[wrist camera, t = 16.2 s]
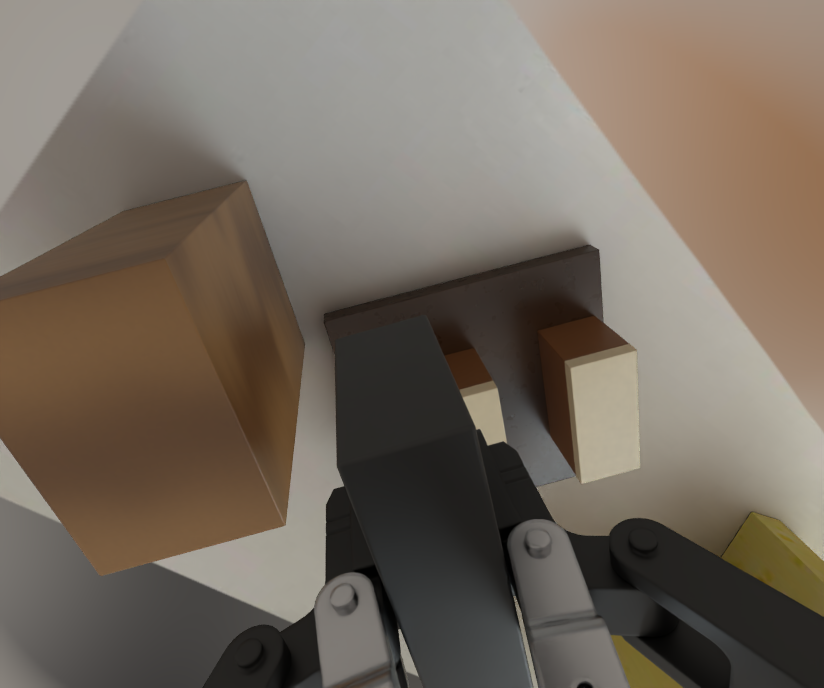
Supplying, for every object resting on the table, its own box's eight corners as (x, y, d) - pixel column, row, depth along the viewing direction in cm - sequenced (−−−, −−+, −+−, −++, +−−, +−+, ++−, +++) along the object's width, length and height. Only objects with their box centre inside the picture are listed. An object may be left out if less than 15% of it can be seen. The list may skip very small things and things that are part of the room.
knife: (333, 338, 13) (335, 465, 8) (425, 312, 13) (475, 425, 9) (480, 765, 23) (517, 930, 18) (533, 749, 23) (583, 910, 18)
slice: (536, 330, 38) (570, 367, 33) (594, 315, 39) (637, 349, 33) (550, 436, 43) (581, 484, 37) (601, 422, 43) (640, 468, 38)
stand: (122, 211, 32) (-86, 321, 16) (246, 179, 33) (163, 258, 16) (198, 373, 38) (99, 577, 22) (305, 345, 38) (286, 526, 22)
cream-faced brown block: (369, 375, 38) (376, 420, 33) (474, 347, 38) (497, 387, 33) (400, 477, 42) (410, 532, 37) (494, 452, 43) (517, 502, 37)
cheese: (698, 475, 49) (836, 616, 36) (847, 558, 58) (1002, 695, 45) (533, 645, 57) (595, 814, 43) (687, 695, 66) (778, 848, 52)
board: (323, 313, 37) (323, 321, 36) (590, 244, 38) (599, 249, 36) (389, 514, 46) (391, 527, 45) (604, 455, 47) (612, 466, 45)
